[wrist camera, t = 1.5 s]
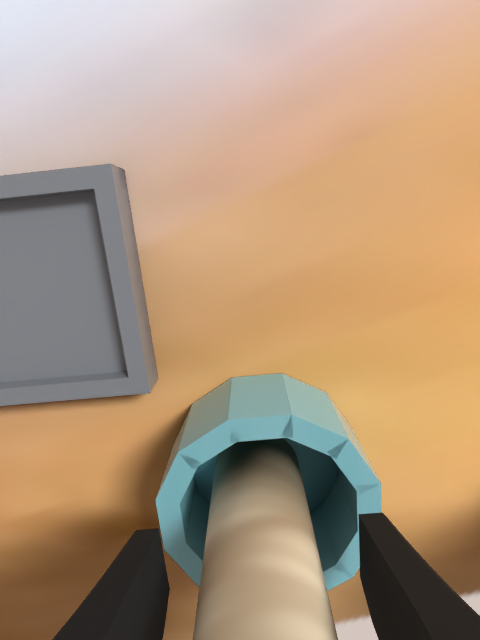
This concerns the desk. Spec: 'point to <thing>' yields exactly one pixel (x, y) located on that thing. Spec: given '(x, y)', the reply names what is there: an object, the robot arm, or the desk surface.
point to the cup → (259, 424)
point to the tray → (71, 289)
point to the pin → (261, 551)
